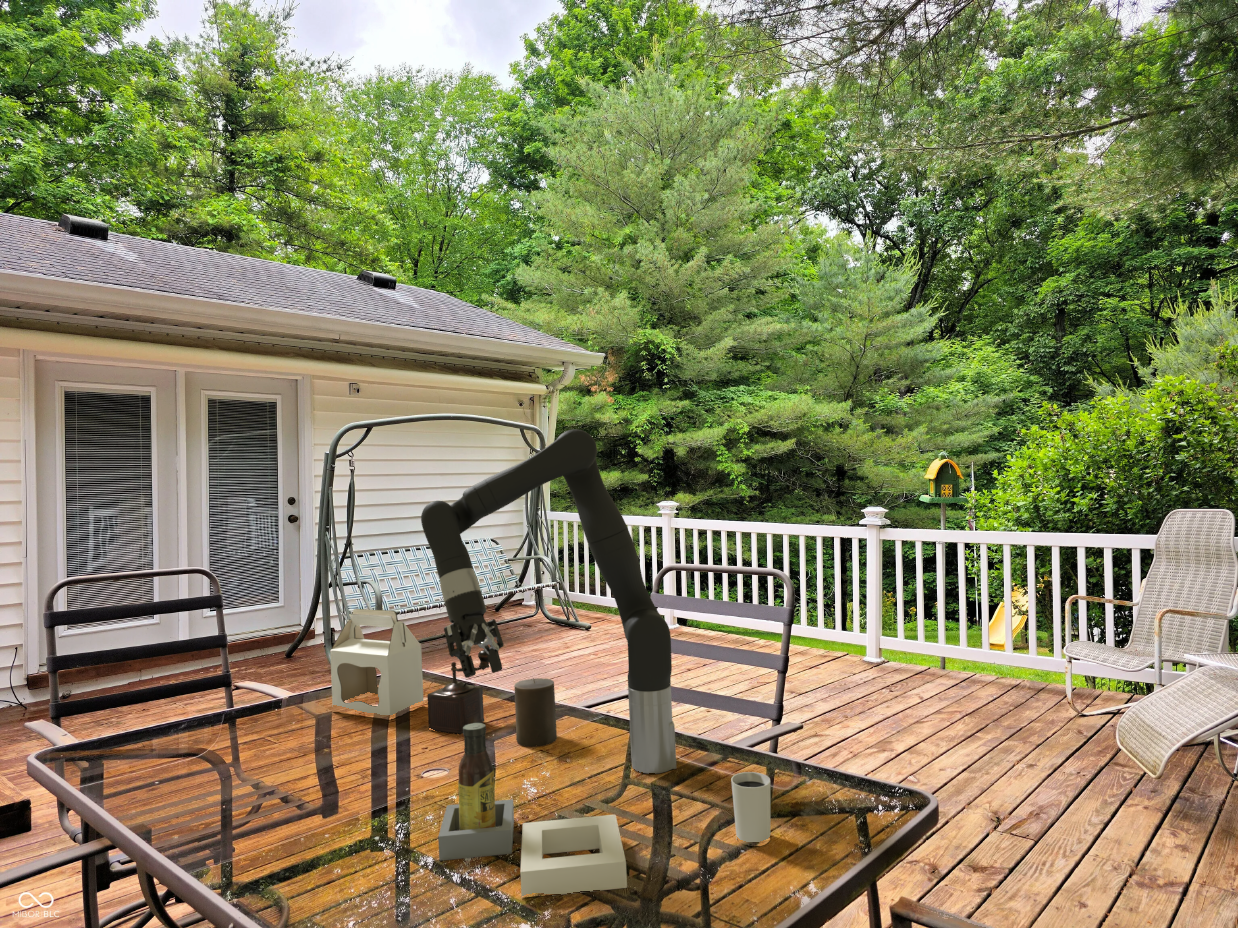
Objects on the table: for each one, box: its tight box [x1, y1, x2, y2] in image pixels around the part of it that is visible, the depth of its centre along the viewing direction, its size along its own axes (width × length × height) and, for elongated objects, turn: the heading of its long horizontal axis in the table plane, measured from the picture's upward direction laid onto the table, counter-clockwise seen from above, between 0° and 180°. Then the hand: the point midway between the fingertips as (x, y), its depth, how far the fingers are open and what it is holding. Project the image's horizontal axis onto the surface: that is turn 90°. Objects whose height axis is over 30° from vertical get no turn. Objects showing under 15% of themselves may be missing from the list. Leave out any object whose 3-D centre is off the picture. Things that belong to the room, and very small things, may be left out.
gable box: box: [329, 608, 425, 715], centre depth 212 cm, size 22×13×28 cm, turn 63°
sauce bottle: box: [457, 722, 497, 830], centre depth 132 cm, size 7×6×20 cm
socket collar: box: [519, 814, 628, 897], centre depth 122 cm, size 16×16×4 cm
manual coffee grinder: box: [427, 649, 491, 736], centre depth 196 cm, size 16×11×18 cm
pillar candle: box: [513, 677, 558, 748], centre depth 181 cm, size 10×10×15 cm
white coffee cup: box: [730, 771, 771, 842], centre depth 128 cm, size 7×7×10 cm
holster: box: [437, 799, 515, 862], centre depth 132 cm, size 12×12×4 cm
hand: (484, 673), depth 147 cm, fingers open, 8 cm apart
